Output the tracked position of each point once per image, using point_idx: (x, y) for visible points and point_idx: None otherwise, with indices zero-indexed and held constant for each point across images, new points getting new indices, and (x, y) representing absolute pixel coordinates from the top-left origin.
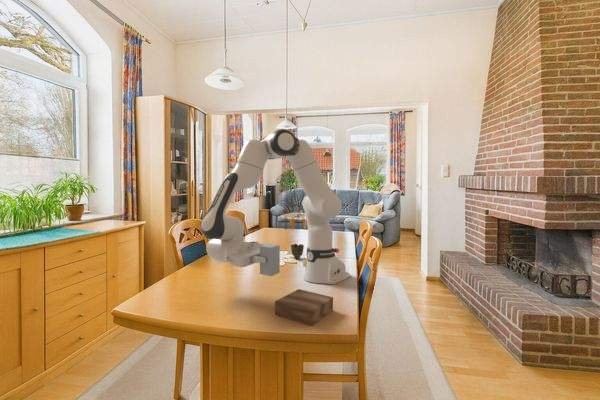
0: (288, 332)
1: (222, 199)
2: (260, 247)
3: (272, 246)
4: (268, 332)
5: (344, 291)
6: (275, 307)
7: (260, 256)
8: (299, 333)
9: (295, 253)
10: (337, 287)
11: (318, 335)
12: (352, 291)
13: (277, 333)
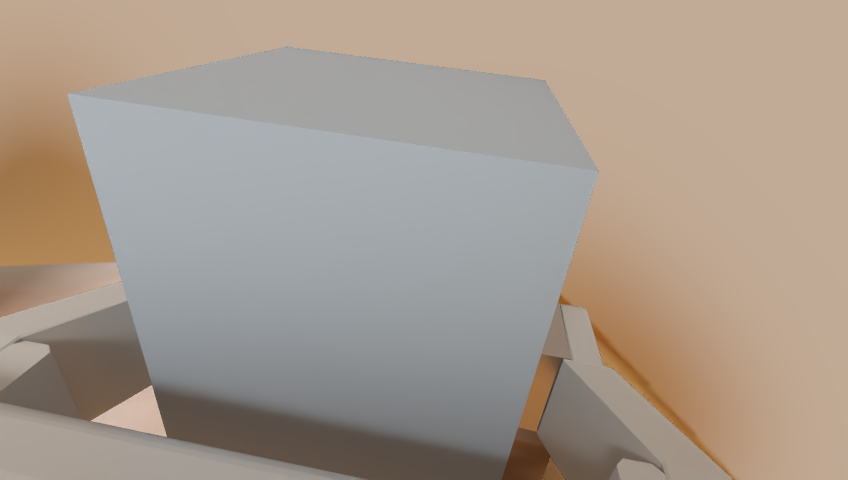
0: (632, 381)
1: None
2: (581, 204)
3: (443, 74)
4: (707, 452)
5: (98, 284)
6: (541, 472)
7: (515, 422)
8: (605, 348)
9: None
10: (11, 312)
11: (570, 304)
12: (104, 263)
13: (676, 414)
